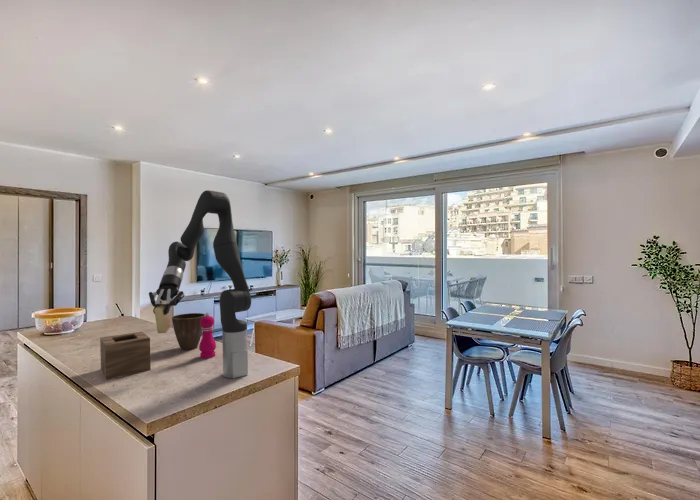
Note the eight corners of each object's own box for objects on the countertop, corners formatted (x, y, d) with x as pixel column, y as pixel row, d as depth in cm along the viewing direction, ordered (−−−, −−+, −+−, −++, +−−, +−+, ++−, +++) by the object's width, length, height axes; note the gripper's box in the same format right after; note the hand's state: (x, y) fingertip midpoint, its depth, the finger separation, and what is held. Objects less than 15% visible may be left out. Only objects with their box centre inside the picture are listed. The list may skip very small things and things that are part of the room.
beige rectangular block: (165, 332, 135) (162, 309, 133) (157, 333, 135) (154, 309, 132) (170, 326, 140) (167, 303, 137) (162, 327, 140) (159, 304, 137)
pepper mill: (210, 359, 154) (209, 314, 154) (195, 358, 156) (195, 313, 155) (219, 354, 161) (218, 311, 161) (205, 353, 163) (204, 310, 163)
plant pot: (174, 345, 176) (173, 314, 176) (206, 342, 182) (205, 312, 182) (170, 354, 162) (169, 320, 162) (204, 350, 168) (204, 317, 168)
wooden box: (150, 369, 142) (150, 338, 142) (105, 379, 132) (105, 345, 132) (142, 360, 153) (141, 331, 153) (100, 369, 143) (100, 337, 143)
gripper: (151, 273, 143) (137, 308, 131) (187, 273, 144) (176, 307, 132) (157, 285, 148) (144, 320, 136) (191, 284, 150) (181, 318, 137)
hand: (160, 313), depth 134 cm, fingers closed on beige rectangular block, 2 cm apart
